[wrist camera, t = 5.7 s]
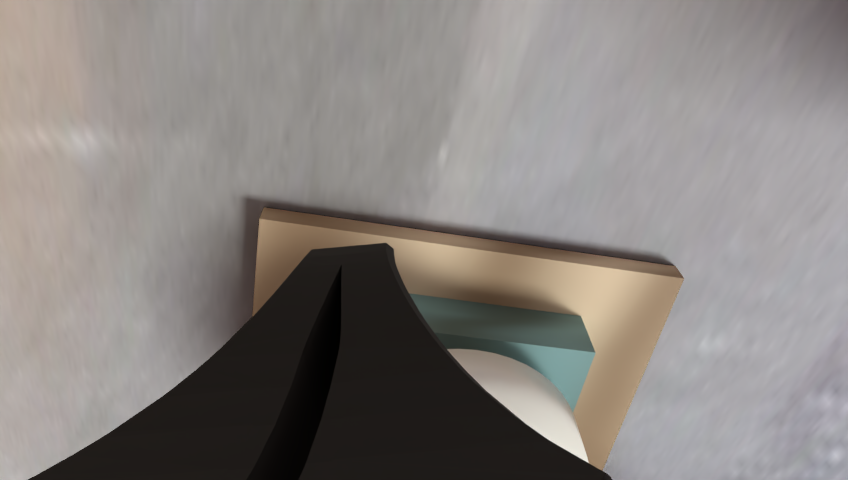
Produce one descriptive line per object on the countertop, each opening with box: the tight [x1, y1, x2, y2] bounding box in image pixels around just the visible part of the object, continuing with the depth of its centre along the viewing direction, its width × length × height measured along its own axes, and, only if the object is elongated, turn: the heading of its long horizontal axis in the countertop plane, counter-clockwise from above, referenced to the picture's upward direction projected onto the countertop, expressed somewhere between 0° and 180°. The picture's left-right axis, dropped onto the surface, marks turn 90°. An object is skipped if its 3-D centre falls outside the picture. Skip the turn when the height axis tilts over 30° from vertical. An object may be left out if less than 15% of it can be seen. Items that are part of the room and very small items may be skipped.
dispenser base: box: [252, 207, 684, 471], centre depth 24 cm, size 14×12×3 cm
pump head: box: [447, 349, 589, 463], centre depth 23 cm, size 8×8×4 cm
